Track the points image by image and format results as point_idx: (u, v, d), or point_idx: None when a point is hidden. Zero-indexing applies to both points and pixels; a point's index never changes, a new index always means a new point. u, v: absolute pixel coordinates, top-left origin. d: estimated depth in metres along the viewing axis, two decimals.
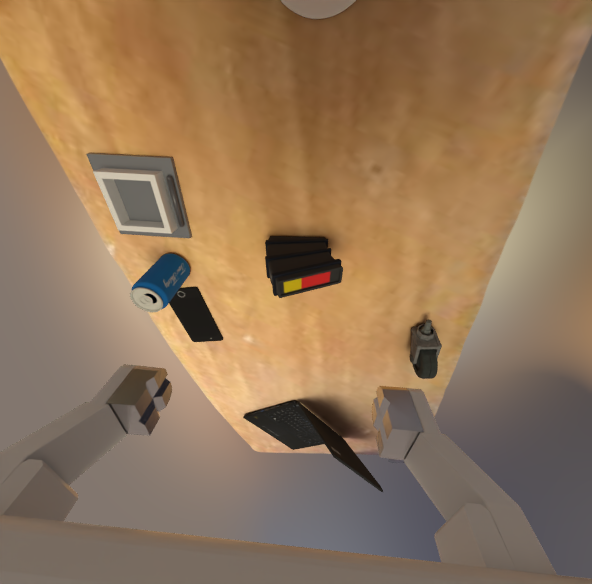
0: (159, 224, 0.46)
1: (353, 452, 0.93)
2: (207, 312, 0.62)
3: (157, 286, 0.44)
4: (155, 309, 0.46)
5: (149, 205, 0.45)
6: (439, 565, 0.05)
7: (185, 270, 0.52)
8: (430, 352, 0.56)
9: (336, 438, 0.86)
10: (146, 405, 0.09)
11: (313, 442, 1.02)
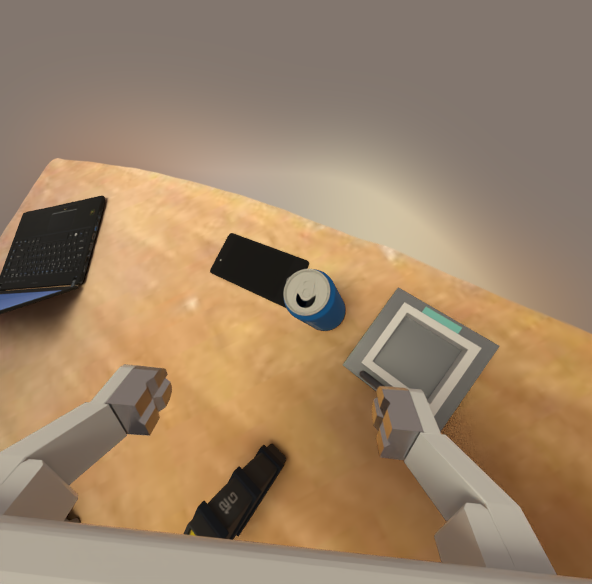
0: None
1: None
2: (251, 289, 0.45)
3: (314, 320, 0.29)
4: (288, 286, 0.30)
5: (405, 357, 0.34)
6: (439, 565, 0.05)
7: (312, 326, 0.38)
8: None
9: None
10: (146, 405, 0.09)
11: (15, 250, 0.70)
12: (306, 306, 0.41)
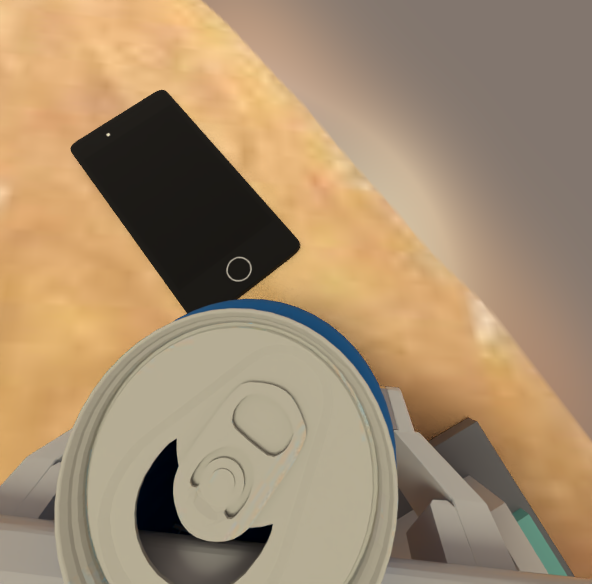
0: None
1: None
2: (140, 239, 0.18)
3: None
4: (144, 365, 0.05)
5: None
6: (439, 565, 0.05)
7: None
8: None
9: None
10: None
11: None
12: None
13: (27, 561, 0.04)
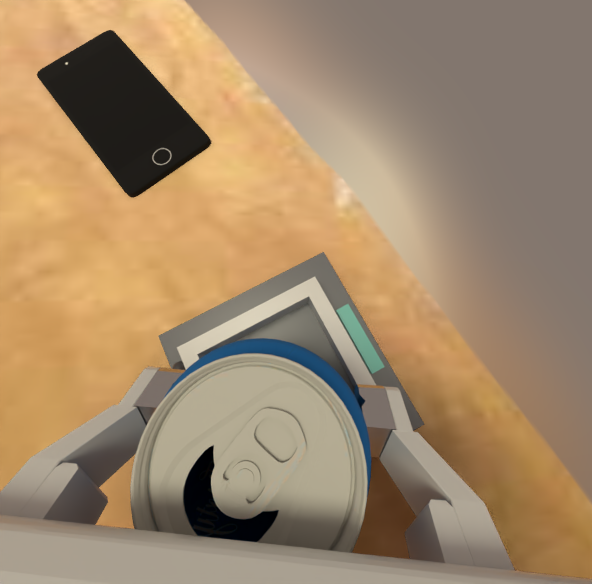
0: (228, 341, 0.17)
1: None
2: (88, 137, 0.23)
3: None
4: (192, 389, 0.07)
5: None
6: (439, 565, 0.05)
7: None
8: None
9: None
10: None
11: None
12: None
13: (27, 561, 0.04)
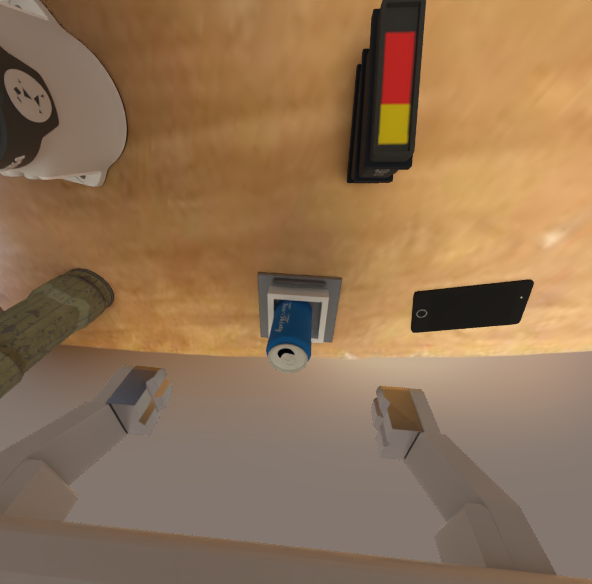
0: (321, 305, 0.43)
1: None
2: (463, 290, 0.41)
3: (272, 339, 0.35)
4: (305, 356, 0.35)
5: None
6: (439, 565, 0.05)
7: (292, 301, 0.41)
8: None
9: None
10: (146, 405, 0.09)
11: None
12: (310, 307, 0.44)
13: (27, 561, 0.04)
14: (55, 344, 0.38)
